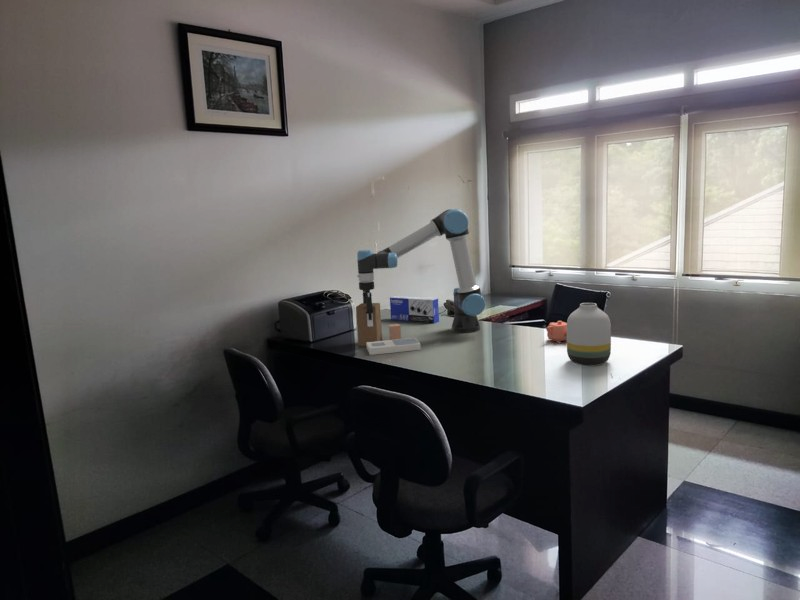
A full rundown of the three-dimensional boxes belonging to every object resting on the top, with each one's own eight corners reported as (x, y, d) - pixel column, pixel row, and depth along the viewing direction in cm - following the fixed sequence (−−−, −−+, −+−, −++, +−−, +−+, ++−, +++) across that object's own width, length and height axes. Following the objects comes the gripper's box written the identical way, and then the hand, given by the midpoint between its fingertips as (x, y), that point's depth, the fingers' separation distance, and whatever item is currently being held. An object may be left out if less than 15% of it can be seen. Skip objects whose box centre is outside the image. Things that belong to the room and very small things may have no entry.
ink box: (390, 320, 336) (389, 297, 333) (396, 318, 341) (395, 295, 339) (433, 324, 319) (432, 299, 316) (439, 321, 324) (438, 297, 322)
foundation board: (415, 343, 275) (414, 337, 274) (420, 349, 262) (420, 343, 262) (366, 348, 271) (366, 342, 270) (369, 354, 258) (369, 348, 258)
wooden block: (377, 346, 274) (375, 306, 271) (358, 346, 276) (355, 306, 273) (382, 341, 284) (380, 302, 280) (363, 341, 286) (360, 303, 282)
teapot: (571, 344, 255) (571, 324, 254) (545, 343, 261) (544, 323, 259) (575, 338, 266) (575, 319, 264) (550, 337, 271) (550, 318, 269)
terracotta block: (399, 339, 287) (398, 323, 285) (401, 341, 282) (400, 325, 280) (389, 339, 286) (388, 324, 285) (391, 342, 281) (390, 326, 280)
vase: (588, 354, 238) (588, 299, 234) (620, 363, 223) (620, 304, 219) (558, 361, 231) (557, 304, 227) (588, 370, 216) (588, 309, 212)
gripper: (356, 279, 286) (358, 319, 290) (361, 285, 262) (364, 329, 265) (370, 278, 287) (372, 318, 291) (377, 284, 263) (379, 328, 266)
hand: (368, 323), depth 278 cm, fingers open, 13 cm apart
